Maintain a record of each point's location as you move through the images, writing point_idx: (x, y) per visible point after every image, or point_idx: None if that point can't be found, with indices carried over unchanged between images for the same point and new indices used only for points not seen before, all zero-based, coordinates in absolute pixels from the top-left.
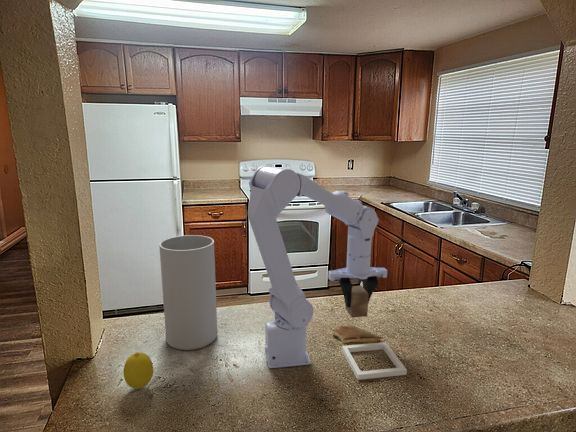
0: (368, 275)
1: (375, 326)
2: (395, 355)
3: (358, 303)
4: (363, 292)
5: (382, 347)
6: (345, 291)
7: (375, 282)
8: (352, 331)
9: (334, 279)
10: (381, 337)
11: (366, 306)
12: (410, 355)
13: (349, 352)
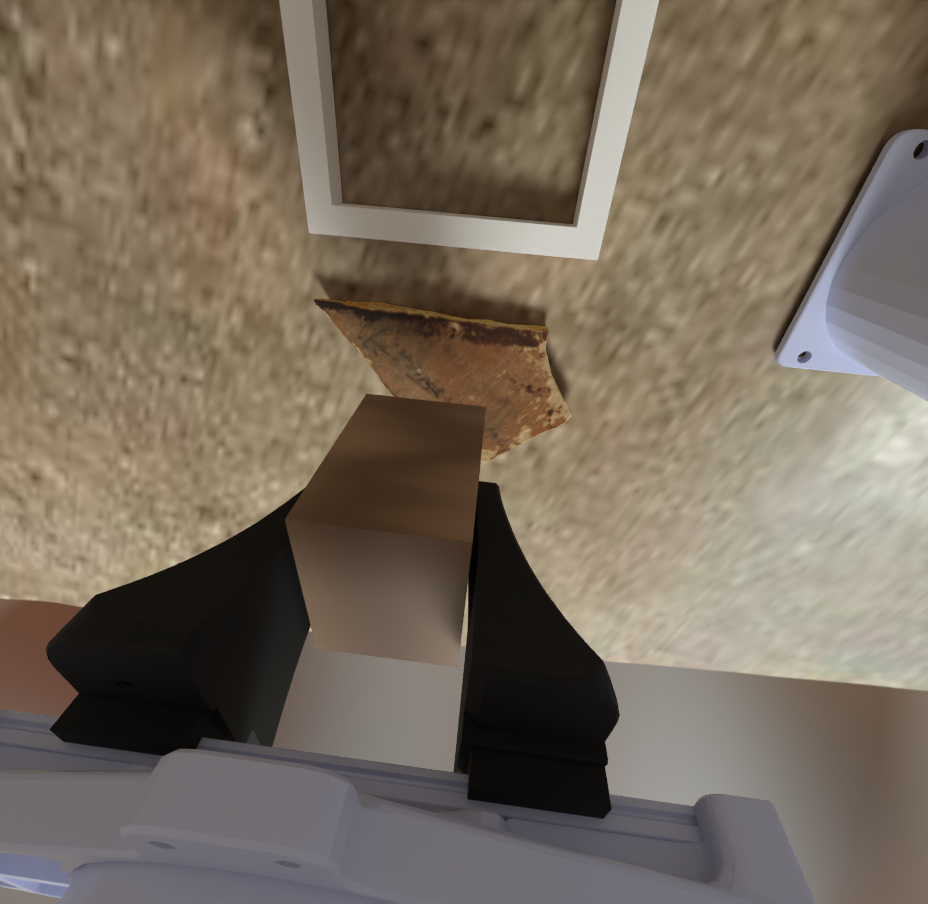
0: (118, 813)
1: (319, 426)
2: (286, 24)
3: (419, 466)
4: (333, 554)
5: (344, 205)
6: (550, 600)
7: (95, 634)
8: (461, 393)
9: (713, 818)
10: (320, 300)
11: (351, 438)
12: (186, 76)
13: (592, 166)
